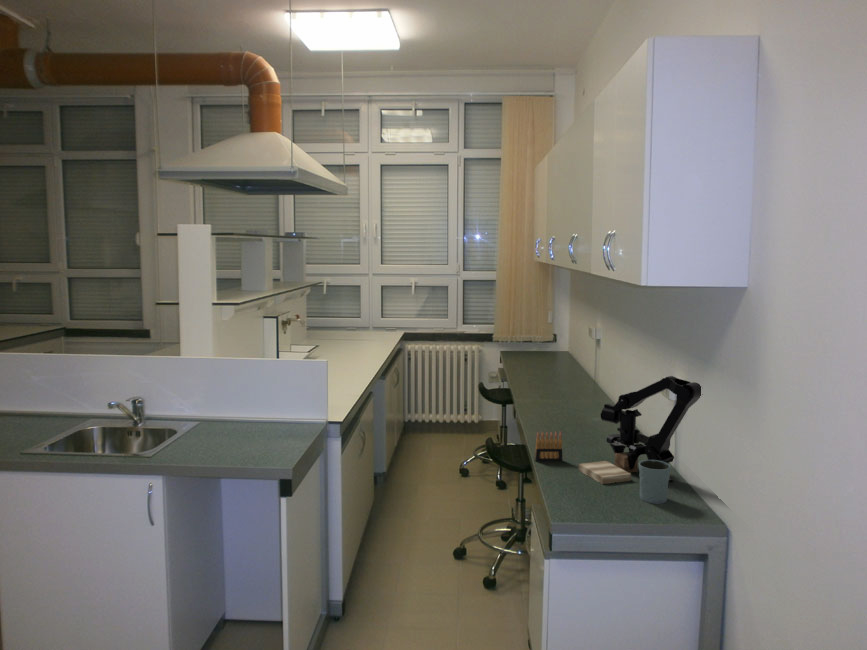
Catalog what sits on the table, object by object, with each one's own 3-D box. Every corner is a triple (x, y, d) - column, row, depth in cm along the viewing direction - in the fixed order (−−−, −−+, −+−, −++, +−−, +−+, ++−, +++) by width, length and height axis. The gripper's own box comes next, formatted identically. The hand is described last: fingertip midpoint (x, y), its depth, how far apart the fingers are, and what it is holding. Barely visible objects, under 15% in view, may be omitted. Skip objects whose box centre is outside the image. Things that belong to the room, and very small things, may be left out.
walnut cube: (637, 471, 254) (638, 456, 254) (623, 473, 252) (624, 457, 252) (627, 467, 260) (628, 451, 259) (614, 468, 258) (615, 453, 257)
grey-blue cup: (662, 493, 231) (664, 459, 230) (674, 504, 221) (675, 469, 220) (633, 493, 231) (634, 459, 229) (643, 504, 221) (645, 469, 219)
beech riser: (631, 480, 244) (631, 473, 244) (602, 484, 240) (602, 477, 240) (605, 467, 259) (606, 460, 259) (578, 470, 255) (578, 463, 255)
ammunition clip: (535, 461, 266) (536, 431, 264) (534, 460, 267) (535, 430, 266) (562, 461, 266) (563, 431, 265) (561, 460, 268) (562, 430, 266)
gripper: (661, 430, 248) (659, 472, 250) (630, 418, 266) (629, 457, 267) (635, 433, 245) (634, 475, 246) (606, 420, 262) (605, 460, 264)
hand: (626, 466), depth 256 cm, fingers open, 7 cm apart
